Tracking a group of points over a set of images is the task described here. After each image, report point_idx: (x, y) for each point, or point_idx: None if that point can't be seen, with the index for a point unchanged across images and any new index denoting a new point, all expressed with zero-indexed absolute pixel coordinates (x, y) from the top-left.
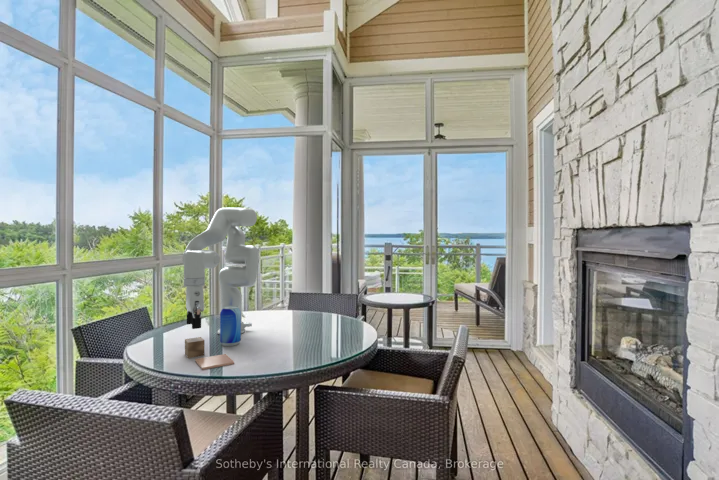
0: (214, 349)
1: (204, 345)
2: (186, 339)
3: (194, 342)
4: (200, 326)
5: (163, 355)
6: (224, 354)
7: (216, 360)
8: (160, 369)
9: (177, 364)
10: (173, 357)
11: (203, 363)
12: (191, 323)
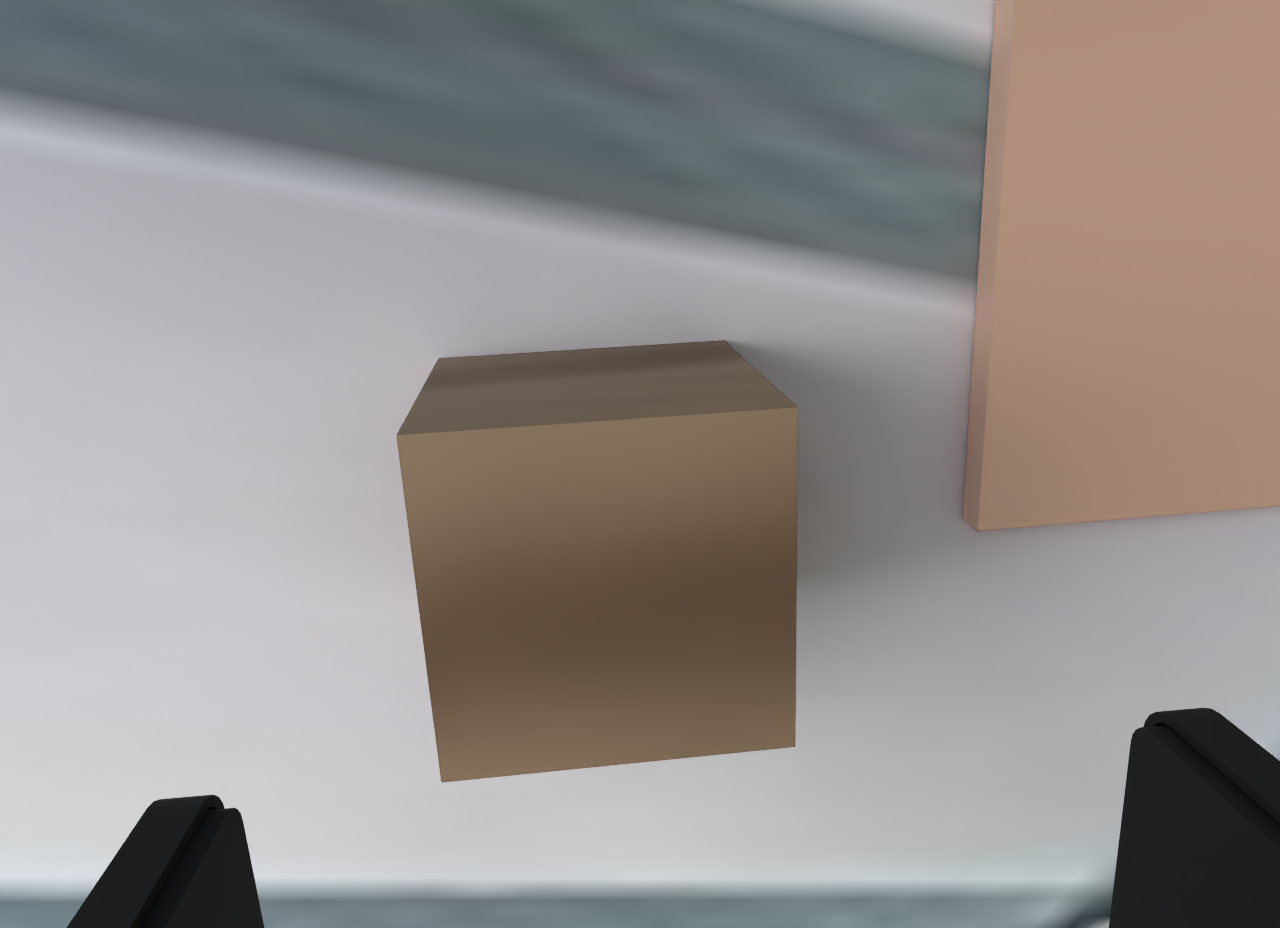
0: (427, 88)
1: (763, 378)
2: (487, 754)
3: (793, 617)
4: (1231, 747)
5: (385, 892)
6: (1041, 15)
7: (1273, 237)
8: (1013, 919)
9: (945, 744)
10: (572, 776)
11: (1269, 451)
12: (255, 925)
